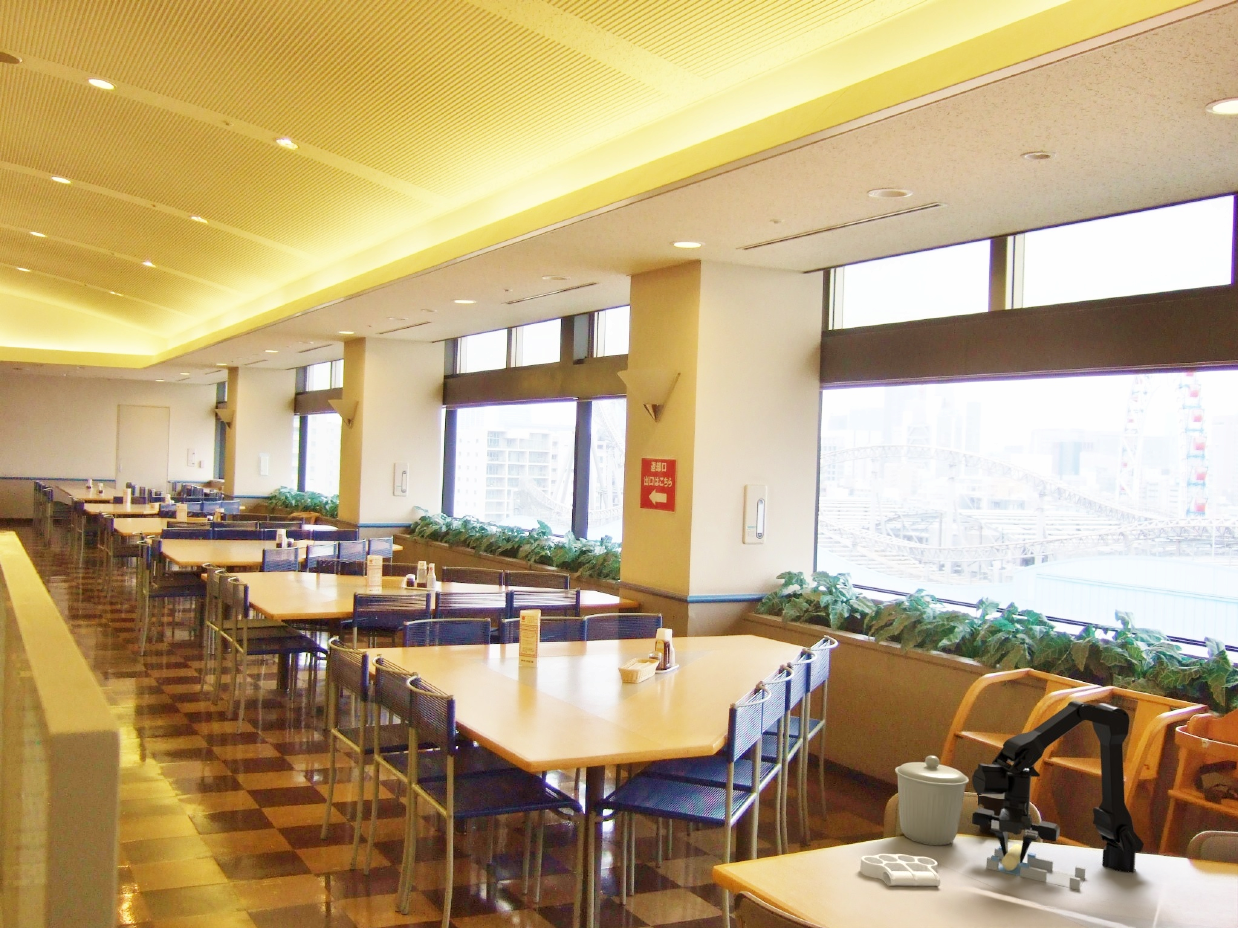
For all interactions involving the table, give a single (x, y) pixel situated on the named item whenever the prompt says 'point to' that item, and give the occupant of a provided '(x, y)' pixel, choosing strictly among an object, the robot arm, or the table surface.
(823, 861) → the table surface
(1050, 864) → the toy block layout
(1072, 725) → the robot arm
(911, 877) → the white brass knuckles
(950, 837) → the canister
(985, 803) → the coffee mug
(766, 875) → the table surface
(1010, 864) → the cream capsule cylinder
